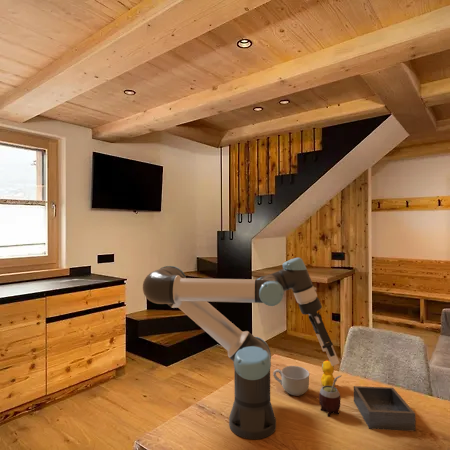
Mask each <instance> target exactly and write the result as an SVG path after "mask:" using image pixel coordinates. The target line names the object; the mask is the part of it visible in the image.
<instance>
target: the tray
mask: <svg viewBox="0 0 450 450" xmlns="http://www.w3.org/2000/svg"><path fill="white" fill-rule="evenodd" d="M353 402H354V405H355V407H356V408H357V409H358V411H359V413H360V415H361V417H362V419H363V421H364V422H365V423H366V425H367V428H368V429H369V430H383V431H384V430H385V431H387V430H388V431H404V432H405V431H406V432H416V412H415V411H414V410H413V409H412V408H411V407H410V405H408V403H407V402H406V401H405V400H404V398H403V397H401V395H400V393H399V392H398V391H397V390H396V389H395V388H394V387H388V386H387V387H386V386H385V387H383V386H361V385H360V386H359V385H353Z"/></svg>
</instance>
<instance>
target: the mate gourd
mask: <svg viewBox="0 0 450 450" xmlns="http://www.w3.org/2000/svg"><path fill="white" fill-rule="evenodd" d="M340 377H342V374H341V375H338V376H336V377H334V378H335V379H334V383H333V386H323V385H322V387H321V388H320V389H319V394H318V398H319V405H320V411H321V412H325V413H327V415H326V416H327V417H331V414H332V415H333V414H334V415H340V409H341V393H340V392H339V390H338V389H337V387H336V383H337V379H339V378H340ZM334 385H335V387H334Z"/></svg>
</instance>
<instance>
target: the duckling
mask: <svg viewBox="0 0 450 450" xmlns="http://www.w3.org/2000/svg"><path fill="white" fill-rule="evenodd" d="M334 366H335V365H334ZM334 366H332V365H331V363H330V360H329V359H325V360H324V361H323V362H322V365H321V370H322V372H323V373H322V375H321V378H320V382H321V386H322V387H323V386H333V383H334V379H335V378H336V377H334V375H333V374H334V372H335V367H334ZM334 387H335V388H336V384H335V385H334Z"/></svg>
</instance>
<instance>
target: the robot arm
mask: <svg viewBox="0 0 450 450" xmlns="http://www.w3.org/2000/svg"><path fill="white" fill-rule="evenodd" d="M289 290H292V293H293V296H294V298H295V301H296V303H297V304H298V307H299V311H300V313H301V314H303V315H308V320H309V322H310V323H311V325H312V328H313V331H314V332H315V335H316V337H317V340H318V342H319V345H320V346H321V347H320V348H321V350H322V352H326V355H327V358H328V361H330V363H331V365H332V366H337V365H339V364H340V361H339V357H338V355H337V353H336V351H335V348H334V343H333V342H332V339H331V338H330V336H329V333H328V331H327V328H326V327H325V323H324V321H323V319H322V316H321V314H320V312H318V311H320V310H321V309H322V308H323V306H322V302H321V301H320V298H319V297H318V294H317V287H315V286H314V284H313V281H312V279H311V276H310V273H309V272H308V269H307V266H306V264H305V262H304V260H303V258H301V257H294V258H291V259H289V260H287V261H285V262H283V263H282V269H280V270H278V271H275V272H272V273H269V274H266V275H263V276H260V277H259V278H256V279H254V278H253V279H249V278H247V279H245V278H195V277H194V278H193V277H192V278H191V277H186V274H185V273H184V271H183V270H182V269H180V267H178V266H173V265H167V266H166V265H165V266H162V267H161V268H159V269H156V270H153V271H151V272H149V274H148V275H146V277H145V278H144V280H143V283H142V292H143V294H144V296H145V298H146V299H147V300H148V301H149V302H151V303H153V304H157V305H168V306H169V307H170V308H173V309H175V308H176V309H177V308H178V309H179V310H180V311H182V312H183V314H185V315H186V316H187V317H188V318H189V319H191V320H192V321H193V322H194V323H195V324H196V325H197V326H198V327H200V328H201V330H203V331H204V332H206V333H207V334H208V335H209V336H210V337H211V338H212V339H213V340H215V341H216V342H217V343H218V344H220V345H221V347H223V348H224V349H225V350H226V352H227V356H228V358H229V359H230V360H231V361H232V362H233V368H234V369H233V370H234V371H233V372H234V389H233V390H234V391H233V392H234V400H233V401H234V402H233V404H232V406H231V411H230V413H229V416H228V417H229V419H228V423H229V424H228V426H229V429H230V430H231V432H232V433H234V435H236V436H238V437H241V438H243V439H248V440H261V439H265V438H267V437H270V436H271V435H273V434H274V432H275V431H276V428H277V418H276V415H275V412H274V411H275V410H274V408H273V405H272V402H271V367H272V362H271V360H272V353H271V349H270V347H269V344H268V343H267V342H266V341H265V340H264V339H263V338H261V337H258V336H254V335H253V334H252V332H251V333H250V331H248V330H245V331H242V330H241V329H240V328H239V327H237V326H236V325H235V324H234V322H233V323H232V321H230V320H229V318H227V317H226V316H225V315H224V314H222V313H221V312H220V311H219V310H217V308H215V307H214V306H213V305H212V304H211V303H209V302H212V303H215V302H216V303H249V304H250V303H253V304H255V303H256V304H264V305H266V306H268V307H275V306H277V305H279V304H280V303H281V302H282V301H283V298H284V294H285V293H284V292H286V291H289Z"/></svg>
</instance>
